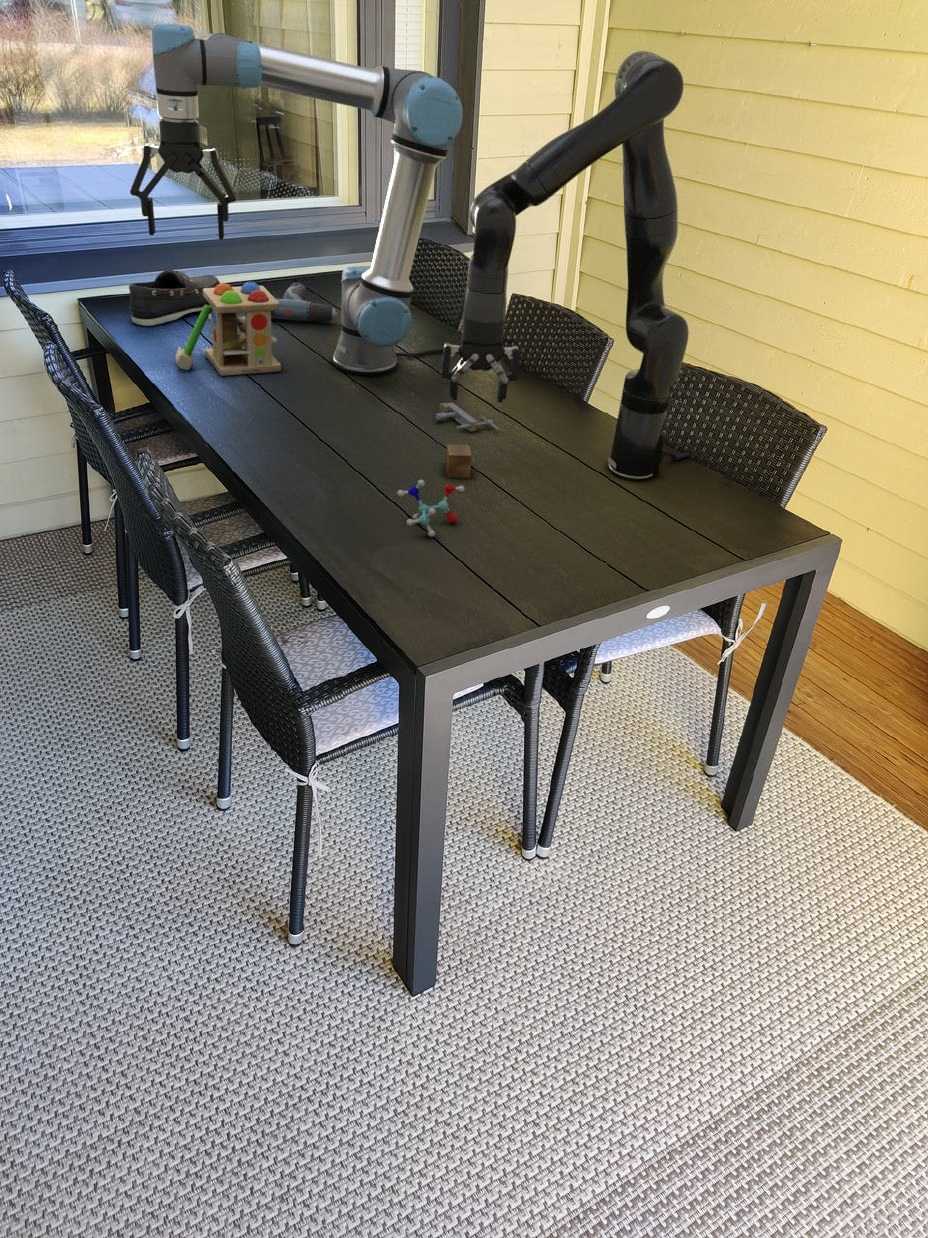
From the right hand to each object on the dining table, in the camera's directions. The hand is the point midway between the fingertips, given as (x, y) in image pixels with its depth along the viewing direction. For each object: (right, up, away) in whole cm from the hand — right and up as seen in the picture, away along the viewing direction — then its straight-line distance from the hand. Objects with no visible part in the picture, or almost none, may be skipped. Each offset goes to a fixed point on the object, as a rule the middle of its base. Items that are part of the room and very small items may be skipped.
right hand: (477, 399), depth 184 cm
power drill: (-46, +42, +83) cm, 104 cm away
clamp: (-2, +1, +29) cm, 29 cm away
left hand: (-58, +36, +14) cm, 70 cm away
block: (-4, -12, +10) cm, 16 cm away
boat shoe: (-78, +41, +77) cm, 117 cm away
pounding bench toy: (-59, +19, +47) cm, 77 cm away
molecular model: (-9, -24, -9) cm, 27 cm away
